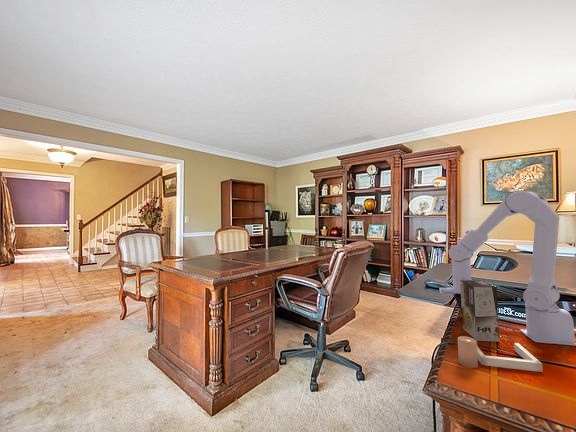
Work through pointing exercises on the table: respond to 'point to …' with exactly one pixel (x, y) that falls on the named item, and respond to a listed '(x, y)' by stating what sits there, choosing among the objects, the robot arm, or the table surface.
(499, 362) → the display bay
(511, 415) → the table surface
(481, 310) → the coffee box
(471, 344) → the beige block
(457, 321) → the table surface
